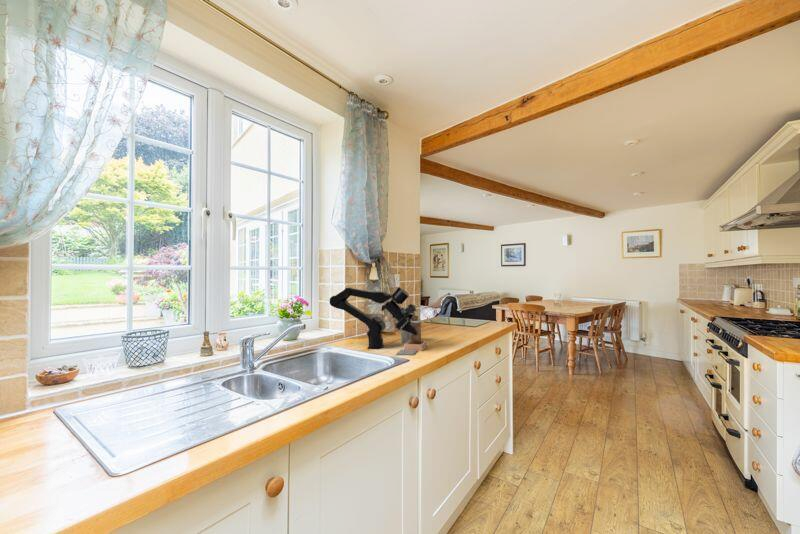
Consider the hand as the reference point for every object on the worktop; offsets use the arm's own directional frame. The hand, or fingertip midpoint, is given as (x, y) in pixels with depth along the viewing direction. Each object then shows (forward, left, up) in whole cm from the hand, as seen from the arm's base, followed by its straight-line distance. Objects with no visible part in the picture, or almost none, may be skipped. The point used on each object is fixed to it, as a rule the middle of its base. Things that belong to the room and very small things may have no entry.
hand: (418, 333), depth 166 cm
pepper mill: (-1, 0, -8) cm, 8 cm away
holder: (-1, 0, -8) cm, 8 cm away
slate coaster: (-3, -10, -8) cm, 13 cm away
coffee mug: (-8, +16, -8) cm, 20 cm away
